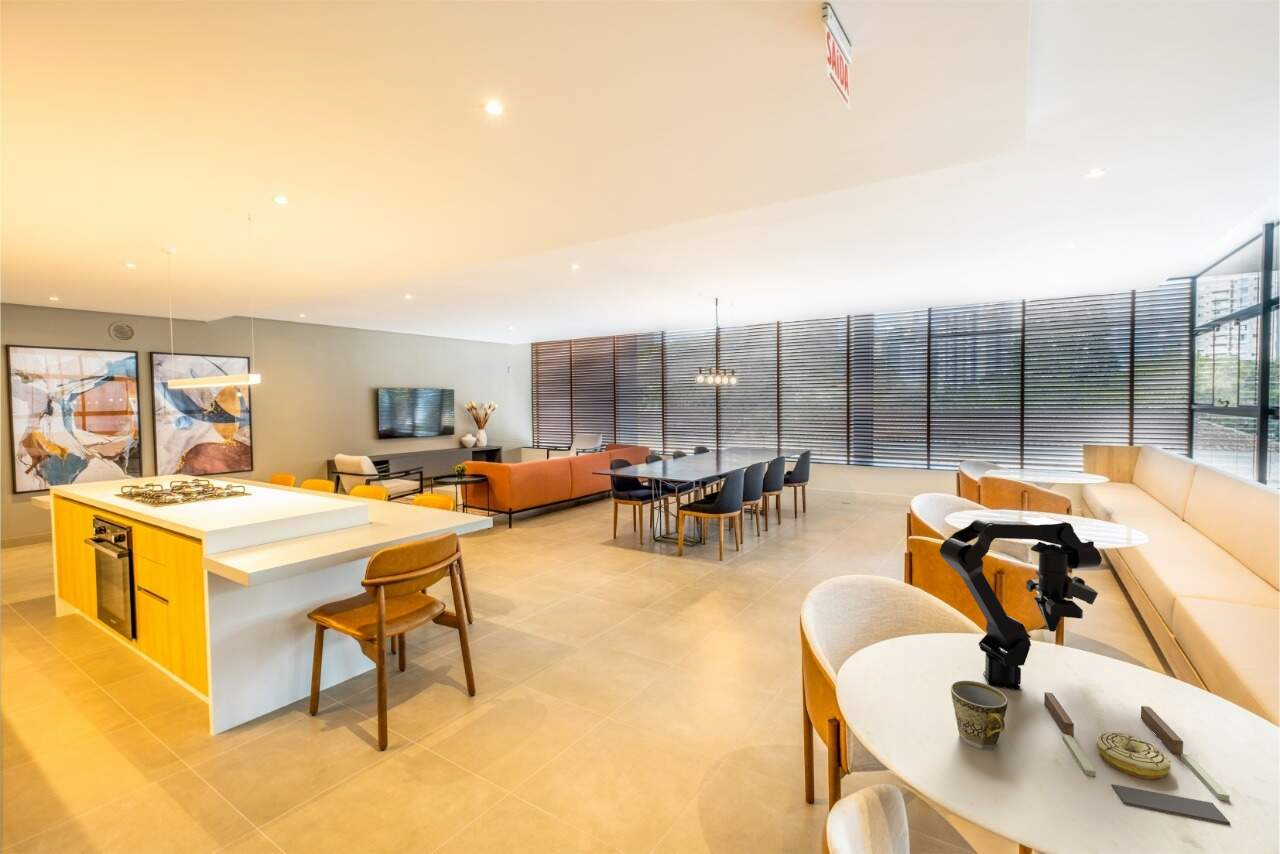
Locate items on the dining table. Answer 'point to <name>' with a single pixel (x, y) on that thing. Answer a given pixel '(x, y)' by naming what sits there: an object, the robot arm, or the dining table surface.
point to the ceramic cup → (979, 713)
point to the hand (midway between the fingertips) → (1051, 630)
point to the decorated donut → (1133, 755)
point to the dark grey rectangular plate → (1170, 804)
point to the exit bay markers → (1187, 759)
